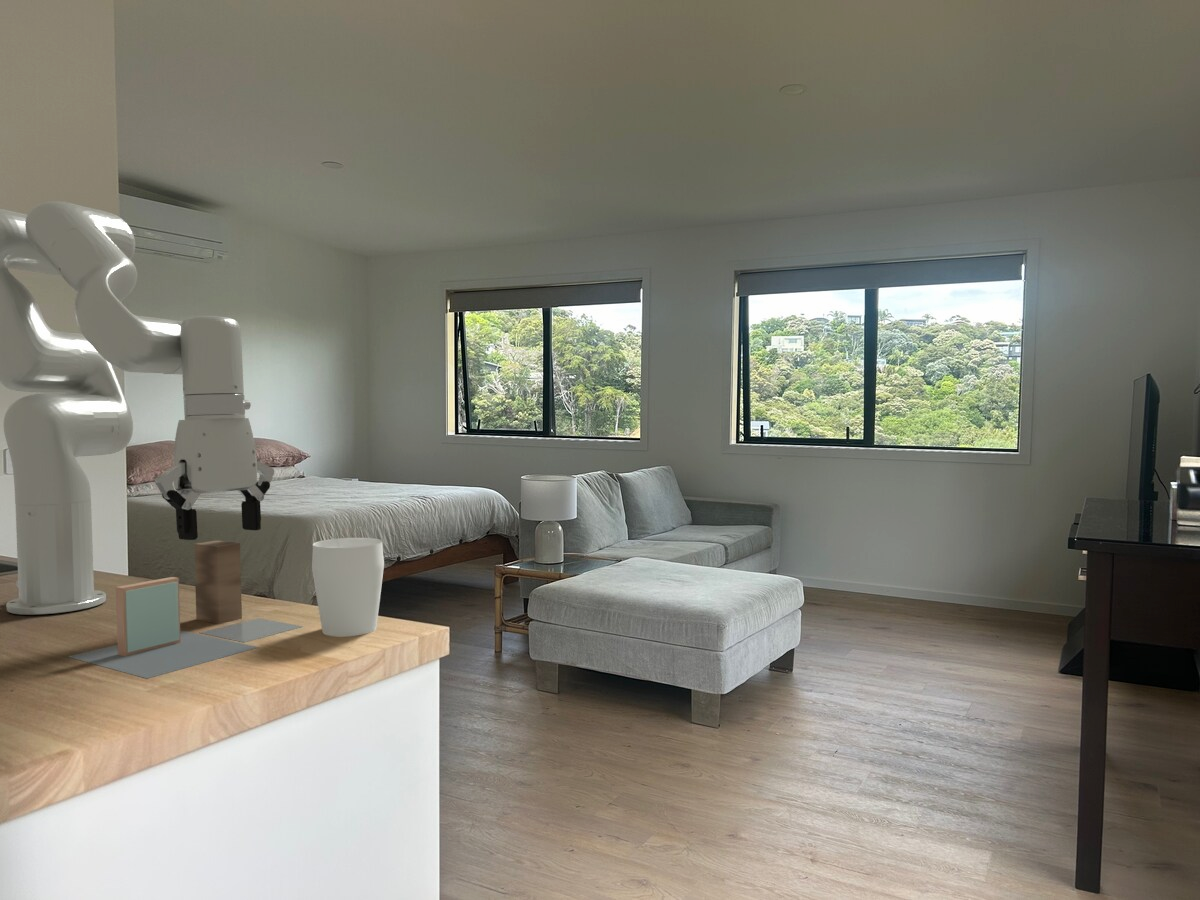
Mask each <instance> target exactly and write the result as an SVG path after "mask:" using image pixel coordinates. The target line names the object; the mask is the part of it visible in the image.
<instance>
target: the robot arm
mask: <svg viewBox="0 0 1200 900" xmlns="http://www.w3.org/2000/svg"><path fill="white" fill-rule="evenodd" d="M135 251H136V238H135V235H134V232H133V230H132V229H131V227H130V225H129V224H128V223H127V222H126V221H125V220H124V219H123V218H121V217H120V216H119V215H116V214H115V213H111V212H109V211H105V210H102V209H97V208H92V207H89V206H83V205H80V204H75V203H72V202H68V201H54V200H53V201H46V202H43V203H39V204H38V205H36V206H34V207H33V208H32V209H31V210H30V211H29V212H28V214H27V213H22V212H18V211H13V210H8V209H3V208H0V384H1V385H2V386H3V387H5V388H6V389H9V390H11V391H15V392H25V393H35V394H29V395H26V396H23V397H20V398H18V399H17V400H15V401H14V402H12V404H10V406H9V407H8V408H7V410H6V412H5V414H4V417H3V432H4V437H5V441H6V444H7V448H8V451H9V457H10V461H11V466H12V473H13V474H12V475H13V482H14V483H13V484H14V501H15V502H14V504H15V505H14V506H15V526H16V528H15V531H16V552H17V553H16V556H17V558H16V559H17V576H18V577H17V580H16V581H15V586H16V587H18V597H15V598H13V599H10V600H9V601H7V602H6V606H5V607H6V612H8V613H10V614H15V615H24V616H25V615H29V616H31V615H32V616H33V615H36V616H37V615H38V616H39V615H49V614H50V615H51V614H61V613H69V612H74V611H81V610H86V609H89V608H94V607H96V606H99V605H101V604H104V603H105V602H106V600H107V594H106V592H105V591H103V590H96V589H95V585H94V583H95V582H94V581H95V580H94V550H93V549H94V548H93V524H92V523H93V522H92V521H93V520H92V515H93V514H92V500H91V499H92V497H91V496H92V494H91V485H90V482H89V479H88V476H87V475H86V473H85V471H84V470H83V468H82V466H81V465H80V464H79V462H78V460H77V459H76V458H77V457H92V456H105V455H111V454H116V453H118V452H120V451H122V450H124V449H125V448H126V447H127V445H128V444H129V443H130V442H131V440H132V437H133V431H134V424H133V423H134V422H133V417H132V413H131V410H130V406H129V404H128V402H127V398H126V397H125V393H124V391H123V389H122V387H121V384H120V382H119V379H118V376H117V374H116V372H115V368H117V369H119V370H121V371H125V372H128V373H138V374H139V373H141V374H143V373H144V374H164V375H182V393H183V409H184V410H183V411H184V413H183V414H184V419H179V420H178V422H177V427H176V432H175V437H174V438H175V439H174V445H173V446H174V448H173V449H174V450H173V466H172V467H171V468H169V469H167V470H165V471H164V472H163V473H161V474H159V475H158V476H156V477H155V478H154V482H155V485H156V487H157V488H158V490H159V492H160V493H161V497H162V499H163V500H165V501H166V502H167V503H168V504H169V505H170V508H171V509H173V510H175V516H176V517H175V519H176V532H177V535H178V539H179V540H186V541H195V540H197V539H198V537H199V536H198V535H199V534H198V516H197V515H198V514H197V510H196V509H195V508H192V507H193V506H194V505H195V503H196V502H197V500H198V499H199V497H200V495H201V494H214V493H225V492H233V491H234V492H235V491H238V493H239V494H240V495H241V496H242V497H243V498H244V501H243V500H241V505H240V506H241V523H242V524H241V525H242V526H241V527H242V529H243V530H245V531H246V530H247V531H260V530H261V528H262V526H261V525H262V523H261V522H262V512H261V511H262V510H261V502H263V501H264V500H265V495H266V493H267V492H268V491H269V489H270V487H271V483H272V479H273V477H274V475H275V469H274V468H273V467H271V466H269V465H268V464H265V463H263V462H262V461H260V460H257V453H256V452H257V451H256V445H255V439H254V434H253V431H252V426H251V423H250V419H249V417H248V418H247V417H246V410H249V409H251V406H252V403H251V402H250V400H248V399H245V395H244V393H245V391H244V389H245V388H244V368H243V367H244V366H243V353H242V352H243V349H242V348H243V347H242V345H243V344H242V332H241V326H240V324H239V321H237V320H236V319H234V318H231V317H226V316H219V315H196V316H190V317H187V318H185V319H184V320H179V319H178V320H176V319H169V318H161V317H160V318H159V317H153V316H145V315H135V314H134V313H132V312H131V311H130V310H129V309H128V308H127V307H126V306H125V305H124V304H123V303H122V301H123V300H124V299H126V298H127V297H128V296H129V295H130V294H131V293H132V292H133V291H134V289H135V287H136V285H137V282H138V270H137V268H136V265H135V263H134V262H133V261H132V259H133V257H134V254H135ZM9 269H12V270H19V271H25V272H31V273H38V274H44V275H45V274H46V275H49V276H50V275H51V276H52V275H53V276H60V277H61V278H62V279H63V280H64V281H65V282H66V283H67V284H68V285H69V287H70V288H71V289H72V290H73V291H74V292H75V293H76V294H75V298H74V313H75V319H76V323H77V326H78V329H79V330H80V332H81V333H78V332H70V331H60V330H59V331H58V330H55V329H52V328H51V327H50V326H49V325H48V323H47V322H46V320H45V319H44V316H43V313H42V311H41V309H40V306H39V304H38V302H37V300H36V298H35V297H34V295H33V293H31V292H30V290H29V289H28V288H27V286H25V285H24V284H23V283H22V282H21V281H20V280H18V279H17V278H16V277H15V276H14V275H13V274H12V273H11V272H10V270H9ZM258 475H259V477H258Z"/></svg>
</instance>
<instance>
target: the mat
mask: <svg viewBox="0 0 1200 900" xmlns="http://www.w3.org/2000/svg"><path fill="white" fill-rule="evenodd" d="M180 637H181V642H180V643H176V644H172V645H168V646H164V647H160V648H156V649H152V650H148V651H144V652H140V653H136V654H132V655H128V656H122V655H118V644H115V645H110V646H107V647H105V646H104V647H103V648H102V647H101V648H97V649H93V650H89V651H85V652H82V653H81V652H80V653H76V654H73V655H68V656H67V658H70V659H73V660H78V661H81V662H84V663H89V664H91V665H96V666H97V667H98V666H99V667H103V668H106V669H110V670H113V671H118V672H122V673H124V674H128V675H132V676H135V677H138V678H142V679H146V680H148V679H151V678H155V677H158V676H159V677H160V676H162V675H167V674H170V673H174V672H176V671H180V670H185V669H187V668H191V667H194V666H198V665H201V664H205V663H209V662H213V661H216V660H217V661H218V660H221V659H223V658H227V657H230V656H234V655H238V654H241V653H245V652H247V651H252V650H255V649H258V648H259V649H260V647H259V646H255V645H251V644H246V643H243V642H238V641H234V640H229V639H224V638H220V637H215V636H211V635H206V634H201V633H194V632H192V631H191V632H189V631H186V630H181V629H180Z"/></svg>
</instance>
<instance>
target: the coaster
mask: <svg viewBox="0 0 1200 900" xmlns="http://www.w3.org/2000/svg"><path fill="white" fill-rule="evenodd" d="M303 627H304V626H302V625H298V624H291V623H287V622H283V621H276V620H273V619H266V618H262V617H258V618H253V619H249V620H246V621H241V622H237V623H234V624H229V625H224V626H221V627H216V628H213V629H208V630H205V631H200V632H199V634H200V635H205V636H210V637H214V638H219V639H224V640H228V641H233V642H238V643H242V644H246V643H249V642H251V641H255V640H259V639H264V638H266V637H270V636H274V635H278V634H282V633H285V632H289V631H293V630H296V629H301V628H303Z"/></svg>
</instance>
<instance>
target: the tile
mask: <svg viewBox="0 0 1200 900" xmlns="http://www.w3.org/2000/svg"><path fill="white" fill-rule="evenodd" d="M115 600H116V601H115V602H116V603H115V605H116V609H115V610H116V633H117V634H116V635H117V636H116V637H117V639H116V640H117V645H118V655H122V656H128V655H132V654H136V653H140V652H144V651H148V650H152V649H156V648H160V647H164V646H168V645H172V644H176V643H180V642H181V637H180V630H181V611H180V610H181V609H180V607H181V606H180V578H179V577H176V576H169V577H165V578H158V579H153V580H152V579H151V580H148V581H141V582H136V583H130V584H125V585H119V586H115Z"/></svg>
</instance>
